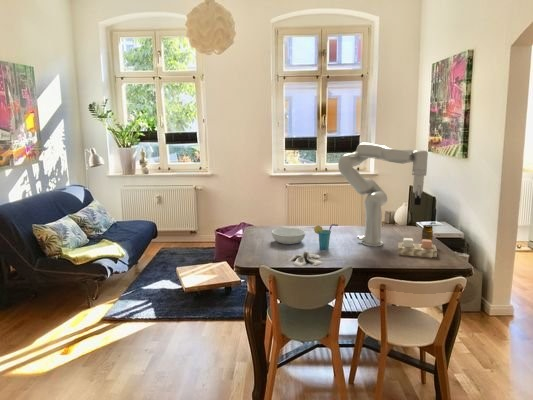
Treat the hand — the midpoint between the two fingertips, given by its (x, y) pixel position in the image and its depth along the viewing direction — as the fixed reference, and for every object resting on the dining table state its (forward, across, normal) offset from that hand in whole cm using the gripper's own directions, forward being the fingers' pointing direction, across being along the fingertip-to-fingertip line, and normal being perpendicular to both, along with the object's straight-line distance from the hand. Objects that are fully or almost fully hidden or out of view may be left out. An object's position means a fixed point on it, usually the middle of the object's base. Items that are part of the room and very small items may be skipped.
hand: (417, 204), depth 239 cm
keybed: (+27, +5, +1) cm, 28 cm away
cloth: (+28, +36, -58) cm, 74 cm away
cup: (+27, +11, -50) cm, 58 cm away
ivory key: (+26, +5, -4) cm, 26 cm away
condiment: (+27, -14, +7) cm, 32 cm away
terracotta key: (+26, +5, +6) cm, 27 cm away
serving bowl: (+27, +3, -74) cm, 79 cm away
